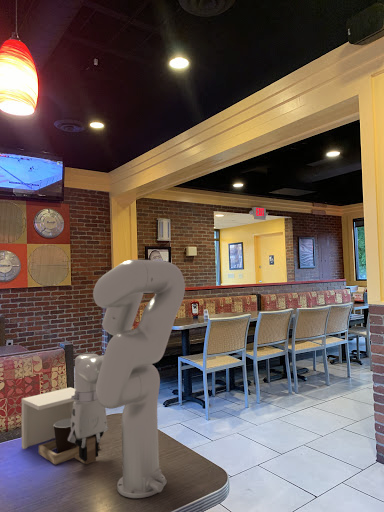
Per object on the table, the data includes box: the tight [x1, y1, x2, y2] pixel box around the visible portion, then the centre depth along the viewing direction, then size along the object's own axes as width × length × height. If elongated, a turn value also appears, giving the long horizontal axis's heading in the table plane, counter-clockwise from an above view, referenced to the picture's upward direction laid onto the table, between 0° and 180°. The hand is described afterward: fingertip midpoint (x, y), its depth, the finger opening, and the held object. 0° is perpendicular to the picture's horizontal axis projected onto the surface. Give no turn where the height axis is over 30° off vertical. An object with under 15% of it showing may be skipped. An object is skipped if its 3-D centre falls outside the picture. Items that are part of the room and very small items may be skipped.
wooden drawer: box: [38, 435, 101, 465], centre depth 119 cm, size 20×15×7 cm
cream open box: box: [21, 387, 75, 450], centre depth 128 cm, size 14×18×16 cm
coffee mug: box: [54, 418, 78, 454], centre depth 120 cm, size 12×9×10 cm
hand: (89, 457), depth 112 cm, fingers closed on wooden drawer, 3 cm apart
